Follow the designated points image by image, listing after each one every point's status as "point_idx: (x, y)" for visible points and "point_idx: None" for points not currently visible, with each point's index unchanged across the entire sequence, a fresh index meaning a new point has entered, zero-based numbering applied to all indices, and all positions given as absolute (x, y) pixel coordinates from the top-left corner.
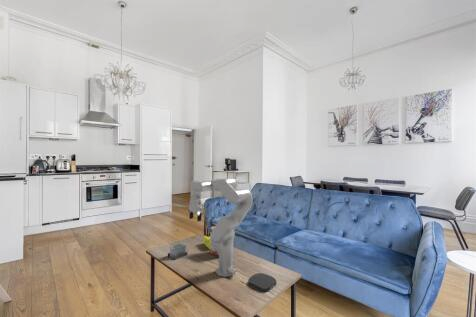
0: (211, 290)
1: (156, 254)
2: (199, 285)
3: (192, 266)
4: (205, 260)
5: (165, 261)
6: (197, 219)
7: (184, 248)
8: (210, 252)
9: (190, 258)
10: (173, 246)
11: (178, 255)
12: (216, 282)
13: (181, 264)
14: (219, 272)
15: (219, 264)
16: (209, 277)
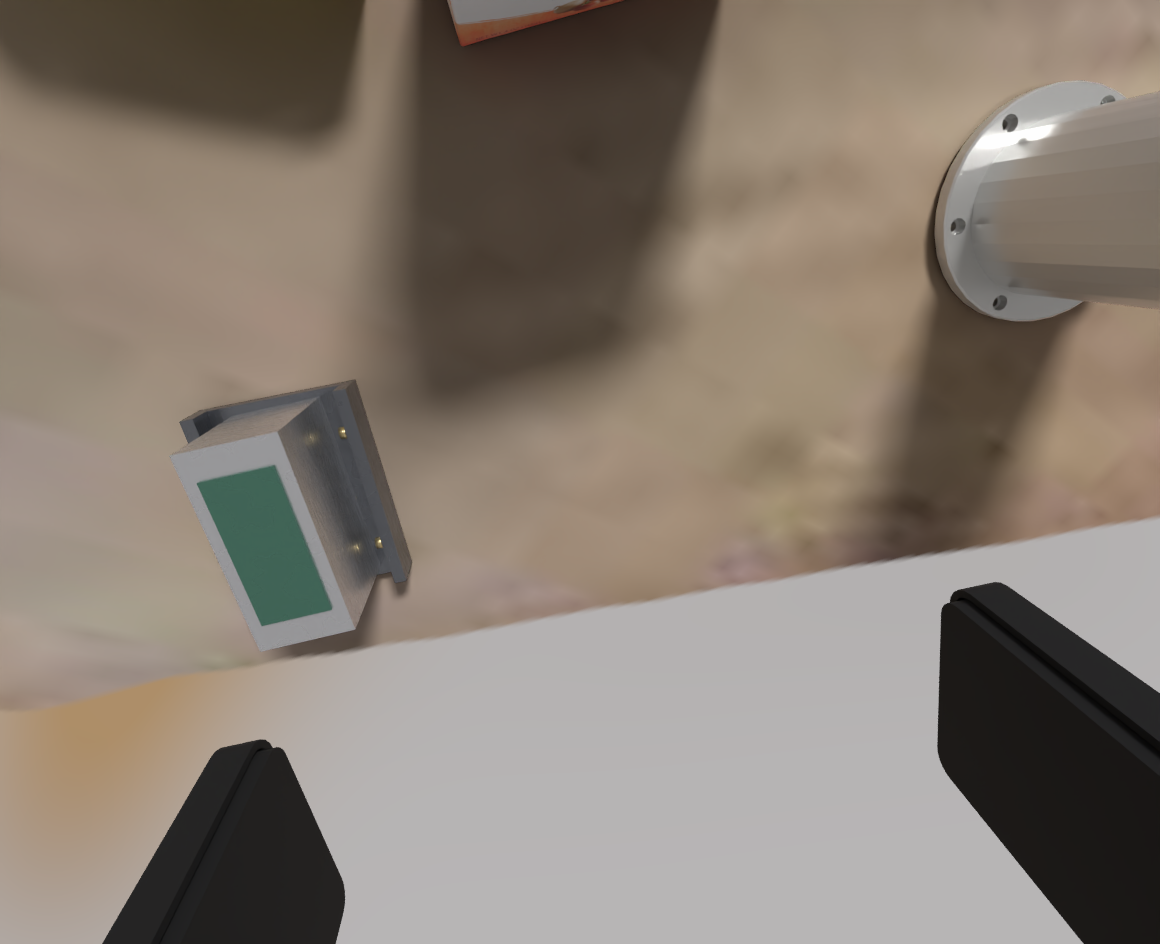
0: (1129, 492)
1: (149, 676)
2: (1004, 539)
3: (678, 453)
4: (643, 251)
5: (395, 642)
6: (1015, 841)
7: (304, 438)
8: (473, 41)
9: (477, 388)
10: (269, 612)
11: (389, 524)
12: (1087, 399)
13: (562, 531)
14: (1029, 295)
15: (1101, 302)
16: (978, 410)
